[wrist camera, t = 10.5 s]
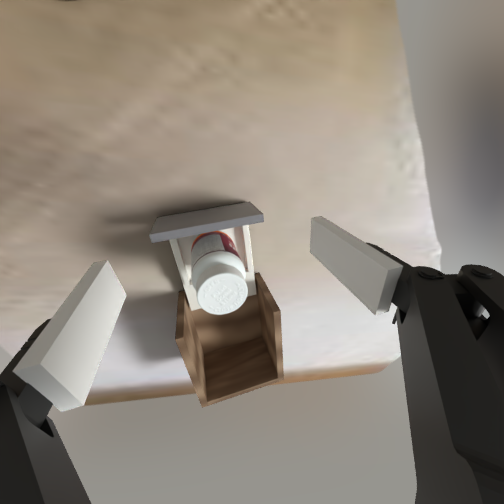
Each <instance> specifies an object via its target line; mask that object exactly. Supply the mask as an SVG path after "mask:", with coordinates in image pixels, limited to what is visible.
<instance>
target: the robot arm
mask: <svg viewBox="0 0 504 504" xmlns="http://www.w3.org/2000/svg"><path fill="white" fill-rule="evenodd" d="M310 253H311V254H312V255H313V256H315V257H316V258H317V259H318V260H319V261H320V262H321V263H322V264H323V265H324V266H325V267H326V268H327V269H328V270H329V271H330V272H331V273H332V274H333V275H334V276H335V277H336V278H337V279H338V280H339V281H340V282H341V283H342V284H343V285H344V286H345V287H347V288H348V289H349V290H350V291H351V292H352V293H353V294H354V295H355V296H356V297H357V298H358V299H359V300H360V301H361V302H362V303H363V304H364V305H365V306H366V307H367V308H368V309H369V310H370V311H371V312H372V313H373V314H374V315H378V314H382V313H385V312H388V311H389V308H390V305H391V302H392V303H393V304H395V305H396V306H397V310H396V313H395V316H394V319H393V322H392V324H395V322H396V321H397V325H398V333H399V341H400V349H401V357H402V365H403V373H404V381H405V389H406V397H407V405H408V413H409V421H410V429H411V437H412V445H413V453H414V461H415V469H416V477H417V493H416V499H415V504H504V276H503V275H501V274H500V273H498V272H497V271H495V270H493V269H490V268H488V267H485V266H481V265H472V264H471V265H464V266H462V267H461V269H460V271H459V273H458V274H451V275H449V274H448V275H445V274H443V273H442V272H440V271H438V270H436V269H433V268H430V267H424V266H417V267H412V266H410V265H409V264H407V263H405V262H404V261H402V260H400V259H399V258H397V257H395V256H393V255H391V254H390V253H388V252H387V251H384V250H383V249H382V248H380V247H378V246H376V245H373V244H370V243H365V242H363V241H361V240H360V239H358V238H356V237H355V236H353V235H352V234H350V233H348V232H347V231H345V230H343V229H342V228H340V227H339V226H337V225H335V224H334V223H332V222H330V221H329V220H327V219H325V218H324V217H322V216H319V217H314V218H311V239H310ZM125 298H126V293H125V291H124V289H123V287H122V285H121V284H120V282H119V280H118V278H117V276H116V274H115V272H114V271H113V269H112V267H111V265H110V263H109V261H108V260H104V261H99V262H95V263H93V264H92V265H91V267H90V268H89V269H88V271H87V272H86V273H85V275H84V276H83V277H82V279H81V280H80V281H79V283H78V284H77V285H76V287H75V288H74V289H73V291H72V292H71V293H70V295H69V296H68V297H67V299H66V300H65V301H64V303H63V304H62V305H61V307H60V308H59V310H58V311H57V312H56V314H55V315H54V316H53V318H51V319H48V320H47V321H45V322H44V323H43V324H42V325H41V326H39V327H38V328H37V329H36V330H35V331H34V332H33V334H32V335H31V336H30V337H29V339H28V342H26V343H25V344H24V345H23V346H22V348H21V350H20V351H18V353H17V354H16V355H15V357H14V358H13V359H12V361H11V362H10V363H9V364H8V365H7V367H6V368H5V369H4V371H3V372H2V373H1V374H0V504H91V502H90V500H89V498H88V496H87V493H86V491H85V489H84V487H83V485H82V483H81V481H80V479H79V476H78V474H77V472H76V470H75V468H74V466H73V464H72V461H71V459H70V458H69V455H68V453H67V451H66V449H65V446H64V444H63V442H62V440H61V438H60V436H59V434H58V432H57V429H56V427H55V425H54V423H53V421H52V420H51V419H50V418H49V417H48V416H47V415H48V412H49V410H50V409H51V407H52V405H54V406H55V407H56V408H58V409H59V410H60V411H61V412H64V411H67V410H70V409H73V408H77V407H80V406H83V405H84V403H85V401H86V398H87V395H88V393H89V390H90V388H91V385H92V383H93V380H94V377H95V375H96V372H97V370H98V367H99V365H100V362H101V360H102V357H103V354H104V352H105V349H106V347H107V344H108V342H109V339H110V336H111V334H112V331H113V329H114V326H115V324H116V321H117V318H118V316H119V313H120V311H121V308H122V306H123V303H124V301H125ZM485 309H486V310H487V311H488V313H489V315H490V317H489V318H488V319H486V318H485V317H484V316H483V315H482V313H483V311H484V310H485Z"/></svg>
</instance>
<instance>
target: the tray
mask: <svg viewBox="0 0 504 504" xmlns="http://www.w3.org/2000/svg"><path fill="white" fill-rule="evenodd" d="M260 222H264V218H263V213H262V212H261V211H259V210H258V209H257V208H256V207H255V206H254V205H253V204H252V203H251V202H245V203H239V204H233V205H227V206H222V207H216V208H210V209H204V210H198V211H192V212H186V213H180V214H174V215H168V216H163V217H157V219H156V221H155V223H154V225H153V227H152V230H151V232H150V234H149V236H150V239H151V241H152V243H155V242H160V241H166V240H169V241H170V244H171V248H172V251H173V254H174V257H175V260H176V264H177V267H178V270H179V273H180V276H181V279H182V283H183V286H184V289H185V292H186V295H187V298H188V302H189V305H190V308H191V311H193V310H197V309H201V307H200V305H199V304H198V301H197V295H196V290H195V289H194V287H193V284H192V279H191V248H192V244H193V242H194V240H195V238H196V237H197V236H198V235H199V234H202V233H208V232H213V231H218V230H219V231H222V232H224V233H226V234H227V235H229V237H230V238H231V239H232V241H233V243H234V245H235V247H236V249H237V252H238V254H239V256H240V258H241V260H242V262H243V265H244V268H245V272H246V277H245V282H246V284H247V288H248V294H247V297H248V296H252V295H256V285H255V277H254V268H253V259H252V250H251V242H250V233H249V225H250V224H255V223H260Z"/></svg>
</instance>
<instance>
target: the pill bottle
mask: <svg viewBox="0 0 504 504" xmlns="http://www.w3.org/2000/svg"><path fill="white" fill-rule="evenodd" d="M245 277H246V272H245V268H244V265H243V262H242V260H241V258H240V256H239V254H238V252H237V249H236V247H235V245H234V243H233V241H232V239H231V238H230V237H229V235H227V234H226V233H224V232H222V231H219V230H218V231H213V232H208V233H202V234H199V235H198V236H197V237H196V238H195V240H194V242H193V244H192V248H191V279H192V284H193V287H194V289H195V290H196V295H197V301H198V304H199V305H200V307H201V308H202V309H203V310H205V311H206V312H208V313H211V314H216V315H222V314H227V313H231V312H233V311H235V310H236V309H238V308H239V307H240V306H241V305H242V304H243V303H244V302H245V300H246V297H247V294H248V288H247V284H246V282H245Z"/></svg>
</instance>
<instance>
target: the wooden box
mask: <svg viewBox="0 0 504 504" xmlns="http://www.w3.org/2000/svg"><path fill="white" fill-rule="evenodd" d="M254 277H255V285H256V295H252V296H248V297H246V300H245V302H244V303H243V304H242V305H241V306H240V307H239V308H238V309H236V310H235V311H233V312H231V313H227V314H222V315H216V314H211V313H208V312H206V311H205V310H203V309H202V308H201V309H197V310H193V311H191V308H190V305H189V302H188V298H187V295H186V292H185V290H184V291H180V292H179V295H178V309H177V323H176V336H175V340H176V343H177V345H178V348H179V350H180V353H181V355H182V358H183V360H184V363H185V365H186V368H187V370H188V373H189V375H190V378H191V380H192V383H193V385H194V388H195V391H196V393H197V396H198V398H199V401H200V403H201V405H202V407H205V406H209V405H212V404H214V403H217V402H220V401H223V400H226V399H229V398H232V397H235V396H238V395H241V394H244V393H247V392H250V391H253V390H255V389H258V388H261V387H264V386H267V385H270V384H273V383H276V382H279V381H282V380H284V374H283V353H282V333H281V312H280V309H279V307H278V305H277V304H276V302H275V300H274V298H273V296H272V295H271V293H270V291H269V289H268V287H267V286H266V284H265V282H264V280H263V278H262V277H261V275H260V273H256V274H254Z"/></svg>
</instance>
